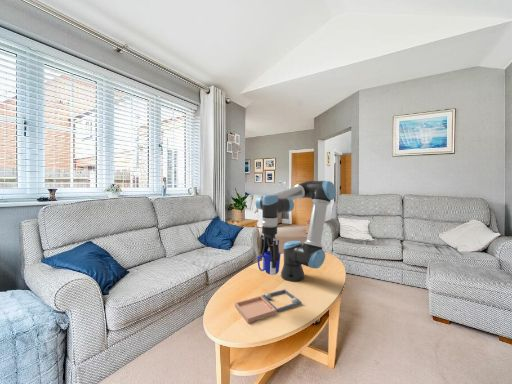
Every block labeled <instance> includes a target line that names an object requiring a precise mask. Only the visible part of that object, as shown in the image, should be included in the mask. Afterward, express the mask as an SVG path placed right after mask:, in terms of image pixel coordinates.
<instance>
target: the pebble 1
mask: <svg viewBox="0 0 512 384" xmlns="http://www.w3.org/2000/svg"><path fill="white" fill-rule="evenodd" d="M270 293H271V292H267V293H265V294H266V295H265V294H264V295H265V297H266V299H268V300H270V299H271V297H272V296H271V295H270Z"/></svg>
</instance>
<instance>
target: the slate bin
mask: <svg viewBox="0 0 512 384" xmlns="http://www.w3.org/2000/svg"><path fill="white" fill-rule="evenodd" d="M269 293H270V295H271V297H273V296H277V295H281V294H285V295H287V296H289V297H290V298H291V299H292V298H296V299H297V300H298V302H296V303H290V304H287V305H284V306H280V307H276V306H275V304H273V303H272V302H271V301H270V299H266V297H265V295H266V293H265V294H262V295H261V296H262V297H263V298H264V299H265V300H266V301H267V302H268V303H269V304H270V305H272V306H273V307H274V308H275V309H276V313H280V312H283V311H285V310H288V309H292V308H293V307H297V306H301V305H302V301H301V300H300V299H298V298H297V297H296V296H295V295H293V294H292V293H290V292H289V291H288V290H286V289H284V288H283V289H279V290H276V291H273V292H269Z"/></svg>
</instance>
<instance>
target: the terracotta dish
mask: <svg viewBox="0 0 512 384" xmlns="http://www.w3.org/2000/svg"><path fill="white" fill-rule="evenodd" d="M234 307H235V309H236V310H237V311H238V313H239V314H240V315H241V317H243V319H244V320H245V322H246V323H247V324H249V323H252V322H256V321H259V320H261V319H265V318H268V317H271V316H275V315H277V312H276V309H275V308H274V307H273V306H272V305H270V304H269V303H268V302H267V301H266V300H265V299H264V298H263V297H262V295H259V296H255V297H251V298H247V299H244V300H240V301H239V300H238V301H236V302H234Z"/></svg>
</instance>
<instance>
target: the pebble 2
mask: <svg viewBox="0 0 512 384" xmlns="http://www.w3.org/2000/svg"><path fill="white" fill-rule="evenodd" d="M296 298H297V297H296ZM296 298H291V304H293V303H296V302H298V300H297V299H298V298H297V299H296Z"/></svg>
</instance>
